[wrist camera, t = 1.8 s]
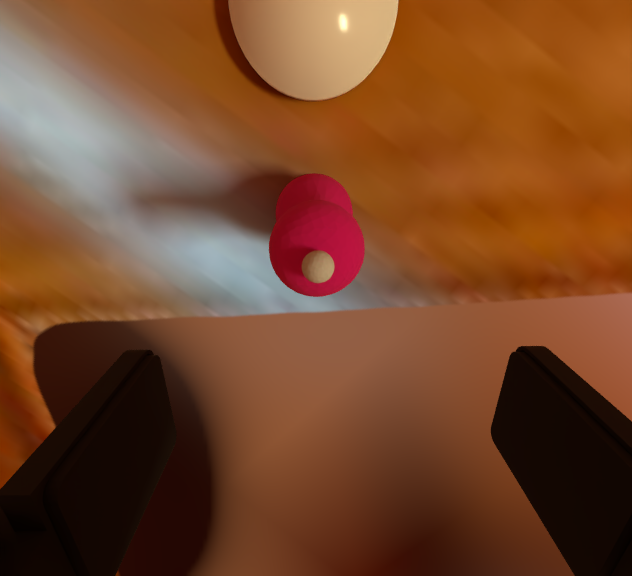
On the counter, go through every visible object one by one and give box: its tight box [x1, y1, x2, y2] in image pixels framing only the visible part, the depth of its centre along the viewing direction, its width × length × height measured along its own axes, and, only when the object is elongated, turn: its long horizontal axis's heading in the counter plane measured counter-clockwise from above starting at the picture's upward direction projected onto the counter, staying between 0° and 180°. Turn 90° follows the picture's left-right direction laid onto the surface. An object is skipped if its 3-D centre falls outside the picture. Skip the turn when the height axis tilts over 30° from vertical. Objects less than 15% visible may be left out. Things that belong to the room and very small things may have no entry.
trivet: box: [228, 0, 398, 101], centre depth 29 cm, size 14×14×2 cm
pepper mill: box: [269, 173, 364, 297], centre depth 27 cm, size 7×7×20 cm
